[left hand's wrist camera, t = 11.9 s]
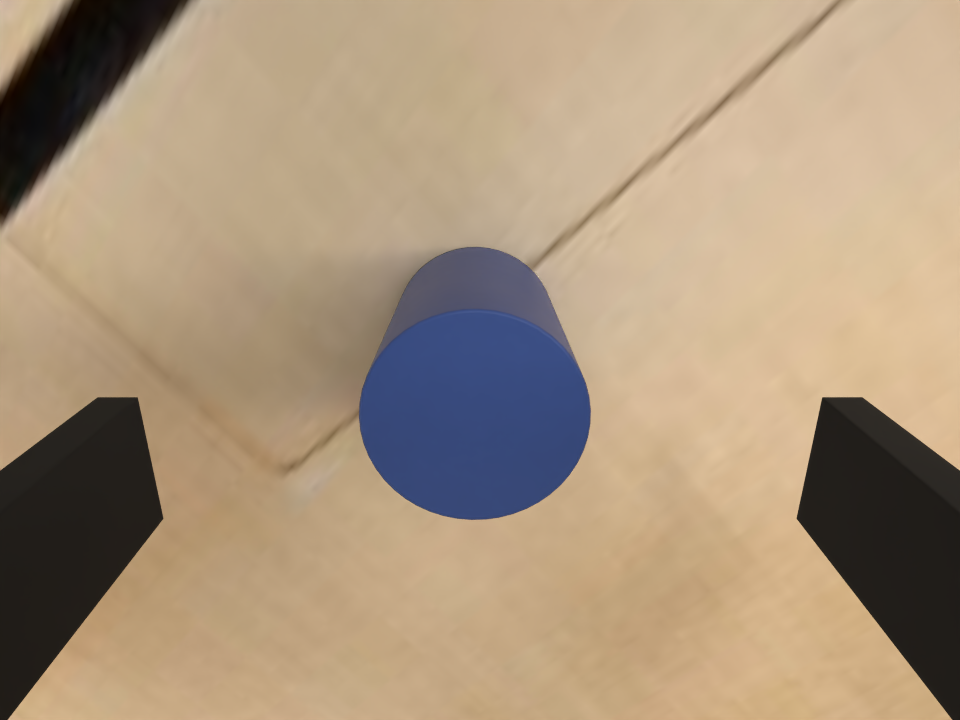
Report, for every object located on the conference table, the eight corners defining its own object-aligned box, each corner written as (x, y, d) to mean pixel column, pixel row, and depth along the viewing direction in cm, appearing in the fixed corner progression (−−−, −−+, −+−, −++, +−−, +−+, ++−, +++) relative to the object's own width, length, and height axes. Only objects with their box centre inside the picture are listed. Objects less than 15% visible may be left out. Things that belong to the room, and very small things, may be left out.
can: (396, 243, 22) (354, 305, 14) (559, 249, 22) (602, 313, 15) (397, 393, 24) (361, 517, 16) (547, 398, 24) (580, 524, 16)
